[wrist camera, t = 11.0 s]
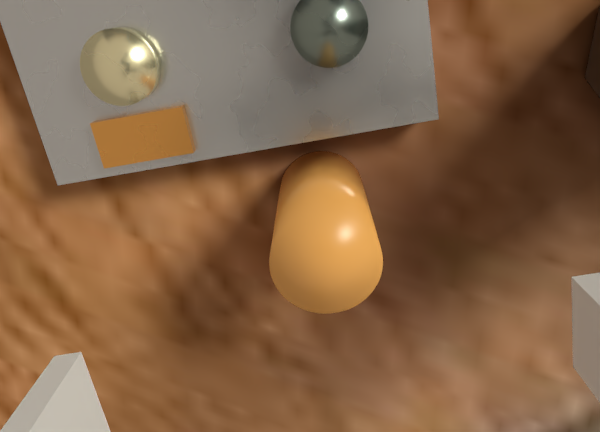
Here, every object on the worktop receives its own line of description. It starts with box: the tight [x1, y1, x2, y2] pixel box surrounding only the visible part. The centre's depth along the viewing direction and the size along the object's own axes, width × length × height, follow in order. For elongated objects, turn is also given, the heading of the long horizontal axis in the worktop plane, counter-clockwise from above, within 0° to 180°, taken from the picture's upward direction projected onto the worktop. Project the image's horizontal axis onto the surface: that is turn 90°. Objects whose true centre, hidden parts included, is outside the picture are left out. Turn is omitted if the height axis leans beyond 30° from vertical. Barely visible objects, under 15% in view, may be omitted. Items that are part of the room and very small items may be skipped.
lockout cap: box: [269, 151, 383, 314], centre depth 24 cm, size 4×4×8 cm
